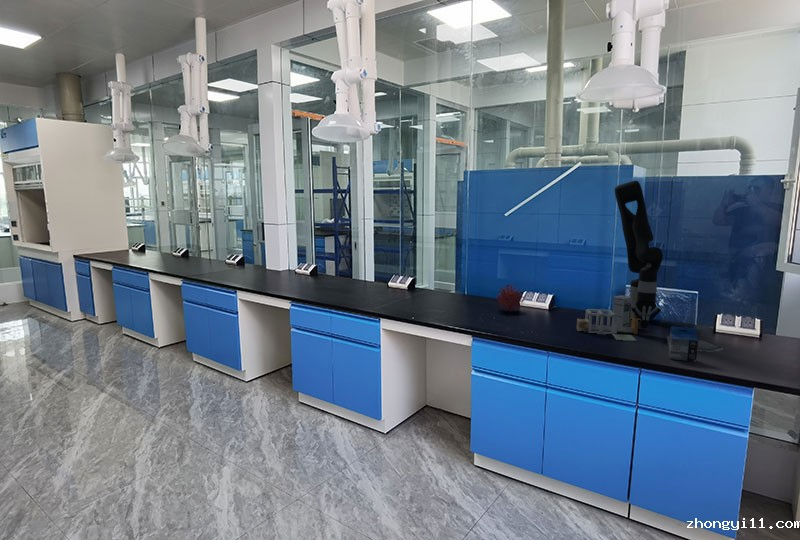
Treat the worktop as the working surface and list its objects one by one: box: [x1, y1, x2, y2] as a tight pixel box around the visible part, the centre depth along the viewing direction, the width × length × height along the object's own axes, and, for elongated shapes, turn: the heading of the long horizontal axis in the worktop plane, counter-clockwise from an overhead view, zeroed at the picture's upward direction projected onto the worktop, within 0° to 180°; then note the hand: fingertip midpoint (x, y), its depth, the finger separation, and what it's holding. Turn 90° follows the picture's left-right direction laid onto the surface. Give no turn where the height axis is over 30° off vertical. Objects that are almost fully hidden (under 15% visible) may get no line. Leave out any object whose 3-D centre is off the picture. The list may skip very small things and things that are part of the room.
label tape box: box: [667, 326, 699, 362], centre depth 173 cm, size 9×4×12 cm, turn 69°
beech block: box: [576, 318, 589, 333], centre depth 213 cm, size 5×5×5 cm
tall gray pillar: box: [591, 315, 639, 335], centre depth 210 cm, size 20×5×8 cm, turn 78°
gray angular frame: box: [584, 308, 618, 335], centre depth 211 cm, size 12×10×10 cm
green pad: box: [611, 333, 637, 342], centre depth 201 cm, size 8×8×1 cm
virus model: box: [496, 284, 525, 313], centre depth 250 cm, size 15×15×15 cm
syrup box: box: [612, 294, 631, 327], centre depth 222 cm, size 6×6×14 cm
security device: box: [666, 335, 723, 352], centre depth 191 cm, size 17×22×2 cm
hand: (643, 327), depth 208 cm, fingers closed
